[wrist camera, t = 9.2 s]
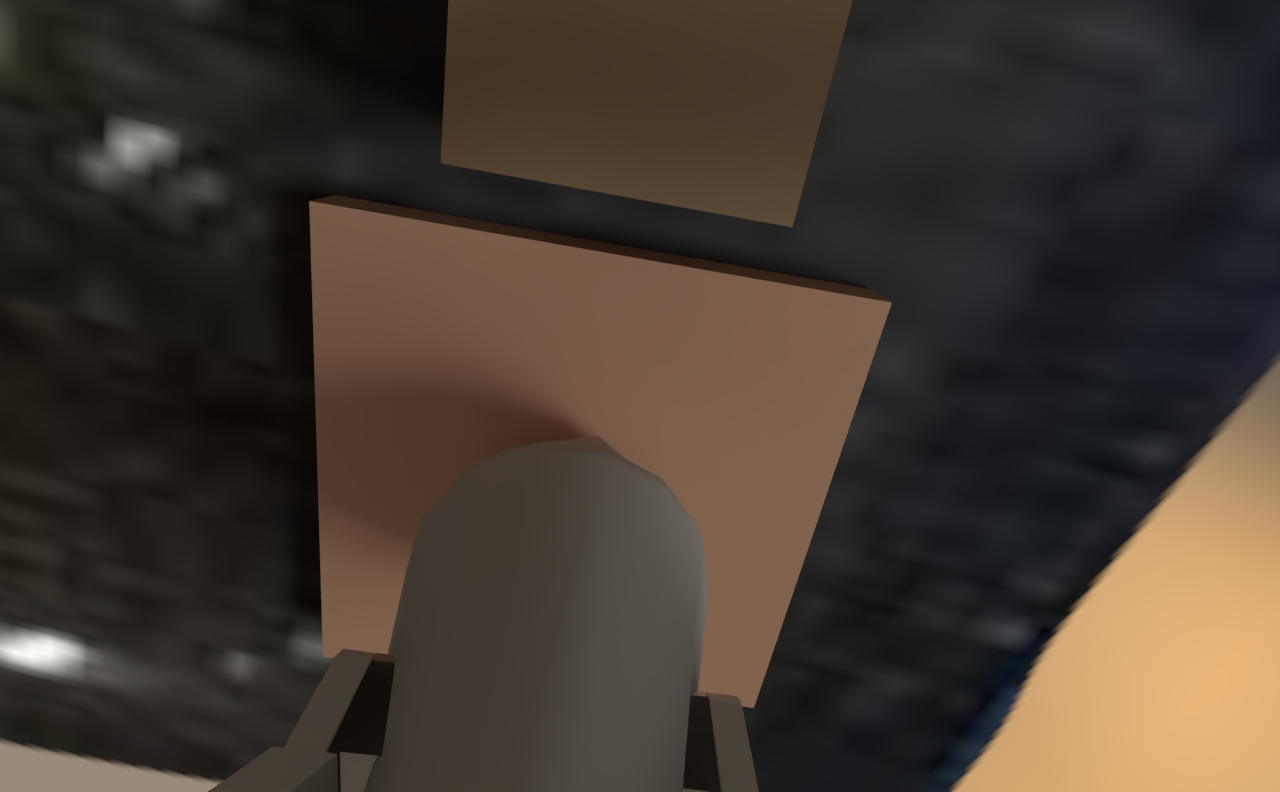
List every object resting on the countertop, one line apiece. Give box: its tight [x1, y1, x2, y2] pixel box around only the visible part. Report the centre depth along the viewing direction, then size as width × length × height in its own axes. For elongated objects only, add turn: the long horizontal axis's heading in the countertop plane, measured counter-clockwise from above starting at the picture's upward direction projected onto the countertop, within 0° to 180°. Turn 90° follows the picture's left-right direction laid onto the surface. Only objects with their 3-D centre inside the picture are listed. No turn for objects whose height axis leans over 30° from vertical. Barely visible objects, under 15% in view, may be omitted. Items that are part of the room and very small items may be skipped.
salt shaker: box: [365, 436, 708, 792], centre depth 8 cm, size 6×6×13 cm
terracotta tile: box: [309, 195, 892, 708], centre depth 16 cm, size 12×12×1 cm
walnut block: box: [441, 0, 852, 227], centre depth 10 cm, size 4×5×5 cm
